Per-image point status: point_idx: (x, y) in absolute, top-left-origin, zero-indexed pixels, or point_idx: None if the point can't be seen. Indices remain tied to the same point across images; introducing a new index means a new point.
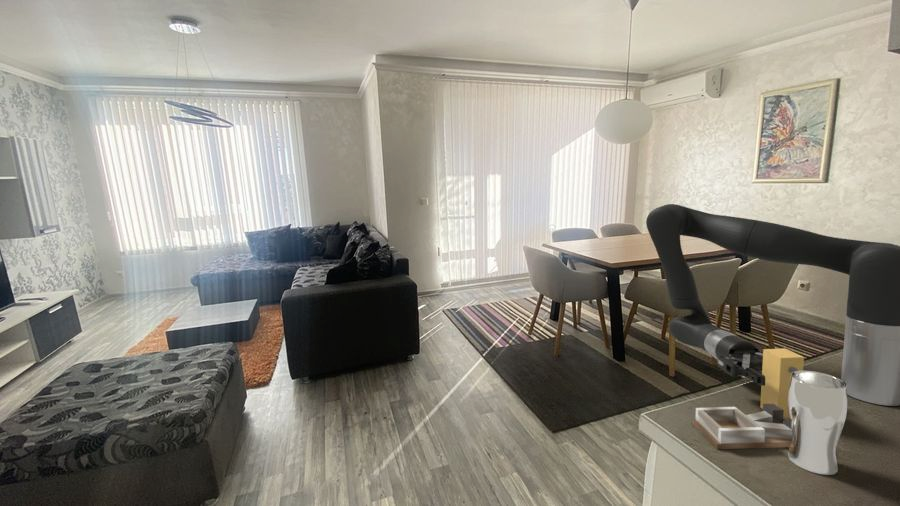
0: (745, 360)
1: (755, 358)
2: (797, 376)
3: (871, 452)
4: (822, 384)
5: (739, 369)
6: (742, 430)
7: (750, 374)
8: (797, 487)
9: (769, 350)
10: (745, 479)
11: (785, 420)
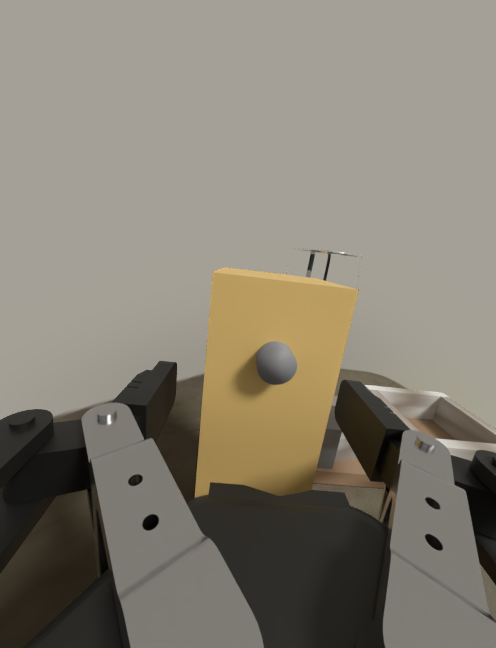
0: (438, 479)
1: (287, 630)
2: (342, 264)
3: (189, 390)
4: (300, 271)
5: (457, 460)
6: (404, 389)
7: (393, 416)
8: (339, 374)
9: (327, 285)
10: (394, 386)
11: None
